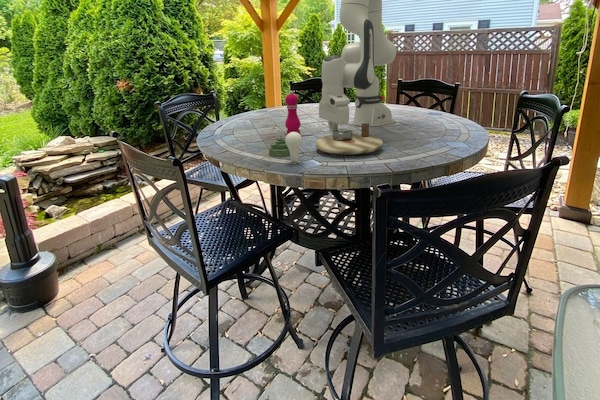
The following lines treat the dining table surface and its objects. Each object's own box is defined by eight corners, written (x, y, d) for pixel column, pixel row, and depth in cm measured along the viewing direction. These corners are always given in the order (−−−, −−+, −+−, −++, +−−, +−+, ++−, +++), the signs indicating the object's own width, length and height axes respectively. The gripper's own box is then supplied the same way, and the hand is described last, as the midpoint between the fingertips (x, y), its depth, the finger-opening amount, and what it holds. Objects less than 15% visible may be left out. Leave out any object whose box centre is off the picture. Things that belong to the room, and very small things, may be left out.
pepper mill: (299, 135, 173) (297, 91, 165) (284, 135, 174) (281, 91, 167) (302, 132, 179) (300, 89, 172) (287, 132, 181) (285, 89, 173)
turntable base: (357, 140, 159) (357, 137, 159) (384, 151, 142) (384, 147, 142) (315, 147, 152) (315, 143, 152) (339, 159, 135) (339, 155, 135)
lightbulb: (292, 158, 139) (291, 129, 135) (306, 160, 136) (305, 131, 132) (283, 163, 135) (281, 133, 130) (296, 165, 131) (295, 134, 127)
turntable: (359, 134, 162) (359, 119, 160) (396, 147, 140) (397, 130, 138) (305, 142, 153) (304, 126, 151) (335, 158, 131) (335, 140, 129)
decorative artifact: (297, 150, 150) (274, 149, 152) (296, 133, 147) (273, 132, 150) (290, 157, 141) (265, 156, 144) (289, 139, 138) (264, 138, 141)
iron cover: (346, 135, 155) (346, 126, 154) (356, 139, 148) (356, 129, 147) (329, 138, 152) (329, 128, 151) (338, 142, 146) (338, 132, 144)
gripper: (314, 96, 159) (315, 128, 164) (337, 101, 141) (337, 137, 147) (327, 94, 161) (328, 126, 166) (352, 100, 144) (351, 135, 149)
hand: (332, 131), depth 157 cm, fingers closed
